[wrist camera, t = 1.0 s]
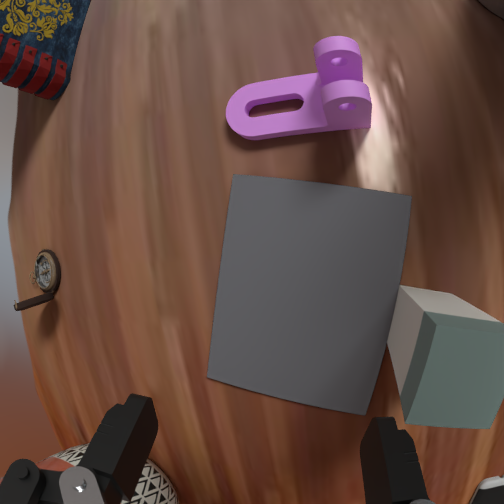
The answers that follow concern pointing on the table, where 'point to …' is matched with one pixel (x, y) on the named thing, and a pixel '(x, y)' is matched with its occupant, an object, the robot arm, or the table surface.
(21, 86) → the book
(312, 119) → the bracket
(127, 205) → the table surface
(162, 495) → the planter
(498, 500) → the smartphone
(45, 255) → the compass
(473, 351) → the tall block
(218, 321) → the rubber mat
